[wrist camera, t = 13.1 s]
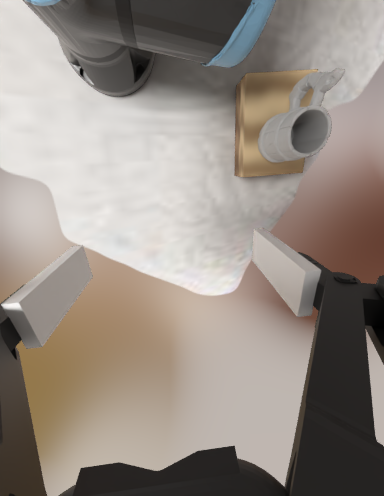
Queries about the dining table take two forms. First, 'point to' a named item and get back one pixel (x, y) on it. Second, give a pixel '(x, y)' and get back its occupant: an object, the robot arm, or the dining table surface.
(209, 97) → the dining table surface
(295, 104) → the mug
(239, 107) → the wooden block
